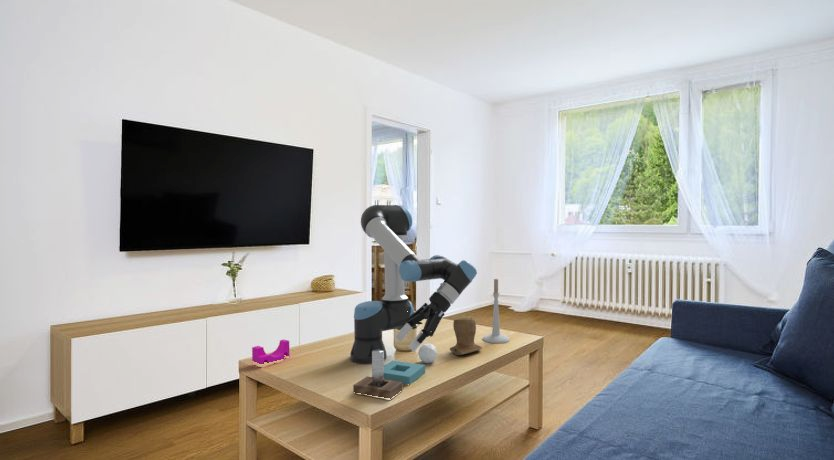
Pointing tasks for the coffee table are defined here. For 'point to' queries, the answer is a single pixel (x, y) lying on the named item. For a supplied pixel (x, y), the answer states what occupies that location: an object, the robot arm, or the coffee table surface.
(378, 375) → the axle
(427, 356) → the geometric ball
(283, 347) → the magenta curved bracket
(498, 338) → the candlestick
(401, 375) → the seat block
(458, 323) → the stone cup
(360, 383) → the brown rectangular frame
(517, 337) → the coffee table surface
